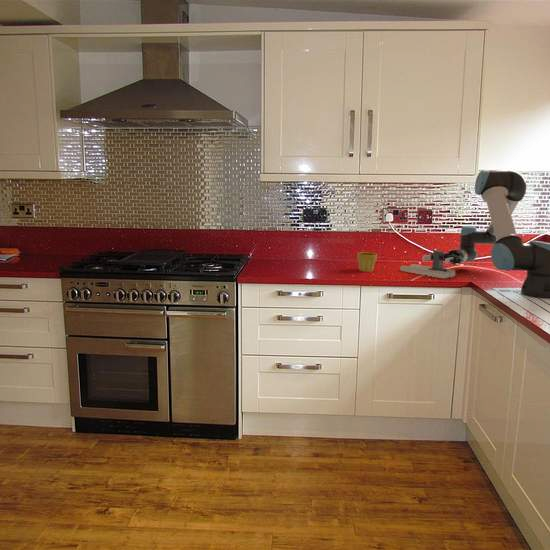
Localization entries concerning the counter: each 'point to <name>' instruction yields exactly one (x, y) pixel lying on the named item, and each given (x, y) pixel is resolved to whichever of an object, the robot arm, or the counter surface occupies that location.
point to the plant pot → (366, 261)
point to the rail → (428, 271)
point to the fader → (438, 261)
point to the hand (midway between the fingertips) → (434, 259)
